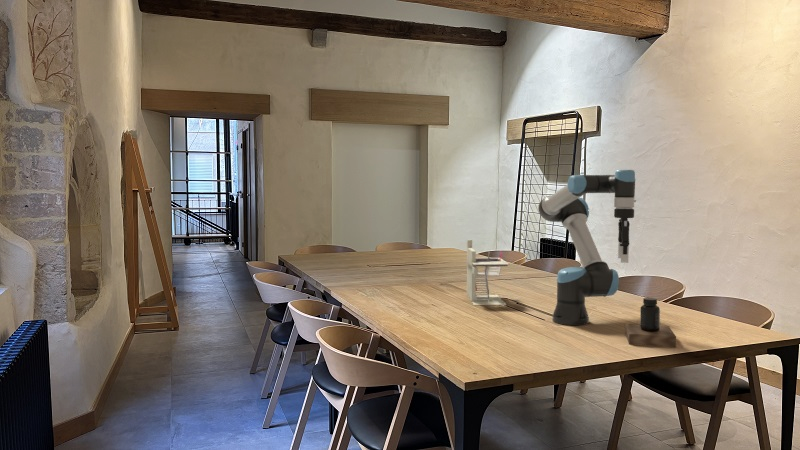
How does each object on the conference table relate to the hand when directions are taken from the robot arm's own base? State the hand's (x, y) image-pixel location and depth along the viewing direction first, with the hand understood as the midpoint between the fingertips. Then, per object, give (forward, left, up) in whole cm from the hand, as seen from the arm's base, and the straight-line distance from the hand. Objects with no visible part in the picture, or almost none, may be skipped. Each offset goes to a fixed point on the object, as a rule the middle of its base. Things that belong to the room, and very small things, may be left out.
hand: (623, 260), depth 239 cm
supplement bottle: (+9, -14, -25) cm, 30 cm away
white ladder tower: (-61, +48, -29) cm, 83 cm away
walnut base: (+9, -14, -29) cm, 33 cm away
